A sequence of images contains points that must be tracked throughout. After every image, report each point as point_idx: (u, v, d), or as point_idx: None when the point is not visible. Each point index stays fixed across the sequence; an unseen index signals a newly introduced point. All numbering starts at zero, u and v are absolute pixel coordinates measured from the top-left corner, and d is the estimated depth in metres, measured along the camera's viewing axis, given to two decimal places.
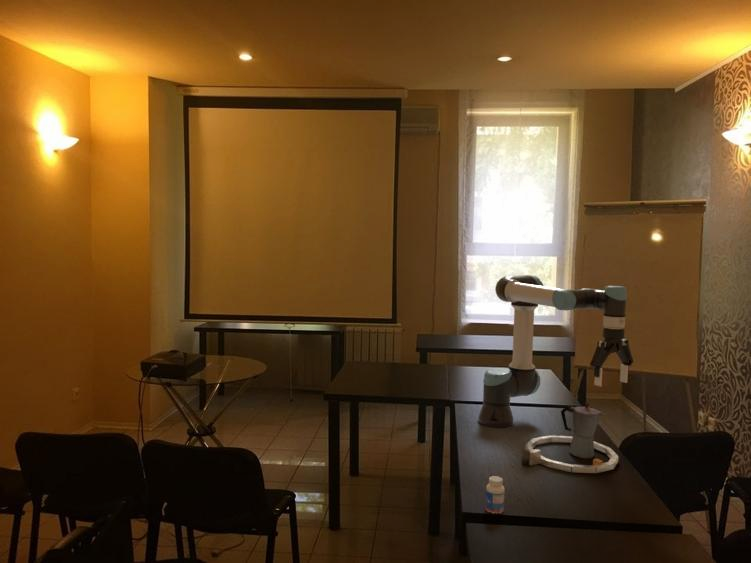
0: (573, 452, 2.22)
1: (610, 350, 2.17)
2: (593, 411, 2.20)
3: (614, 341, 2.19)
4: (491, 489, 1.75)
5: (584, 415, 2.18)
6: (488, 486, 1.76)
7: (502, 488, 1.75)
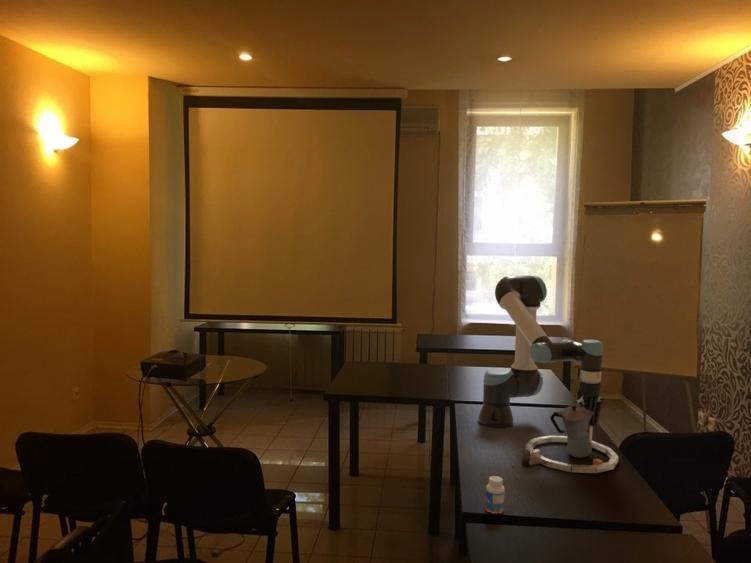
0: (570, 452, 2.21)
1: (590, 405, 2.22)
2: (581, 414, 2.15)
3: (591, 394, 2.22)
4: (491, 489, 1.75)
5: (572, 421, 2.14)
6: (488, 486, 1.76)
7: (502, 488, 1.75)
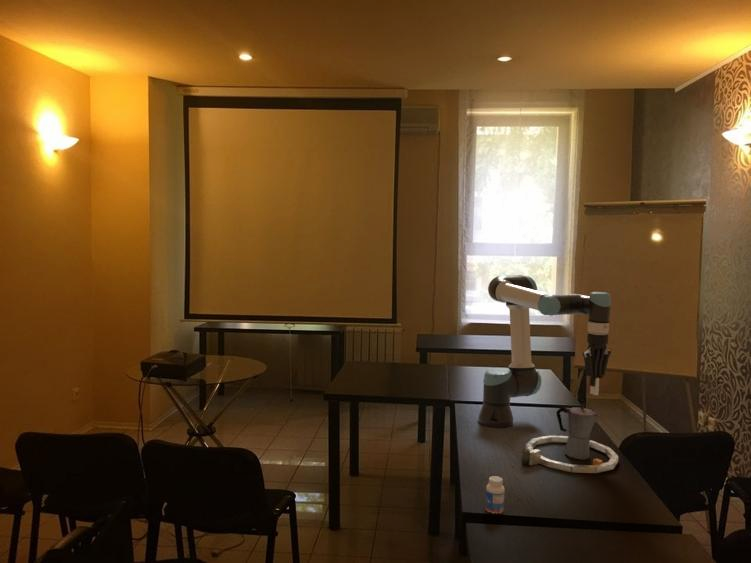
0: (568, 453, 2.21)
1: (597, 357, 2.21)
2: (588, 412, 2.19)
3: (598, 346, 2.22)
4: (491, 489, 1.75)
5: (579, 415, 2.17)
6: (488, 486, 1.76)
7: (502, 488, 1.75)
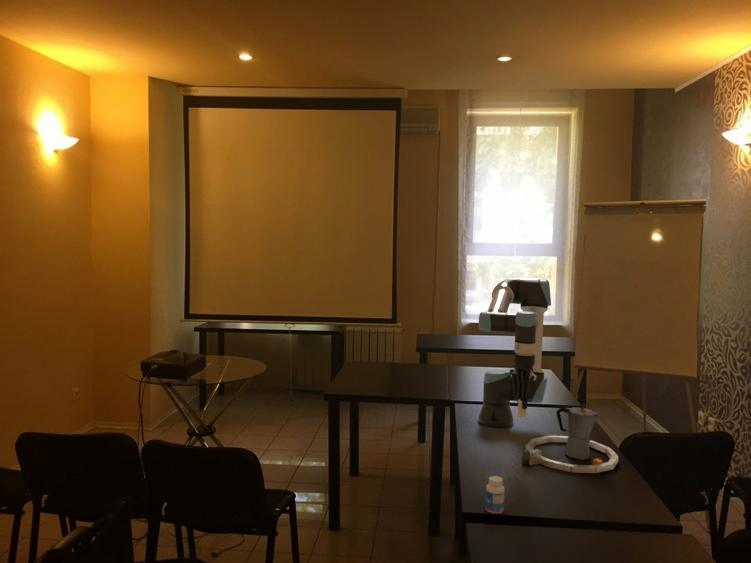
0: (568, 453, 2.21)
1: (516, 377, 2.19)
2: (588, 412, 2.19)
3: (520, 367, 2.18)
4: (491, 489, 1.75)
5: (579, 415, 2.17)
6: (488, 486, 1.76)
7: (502, 488, 1.75)
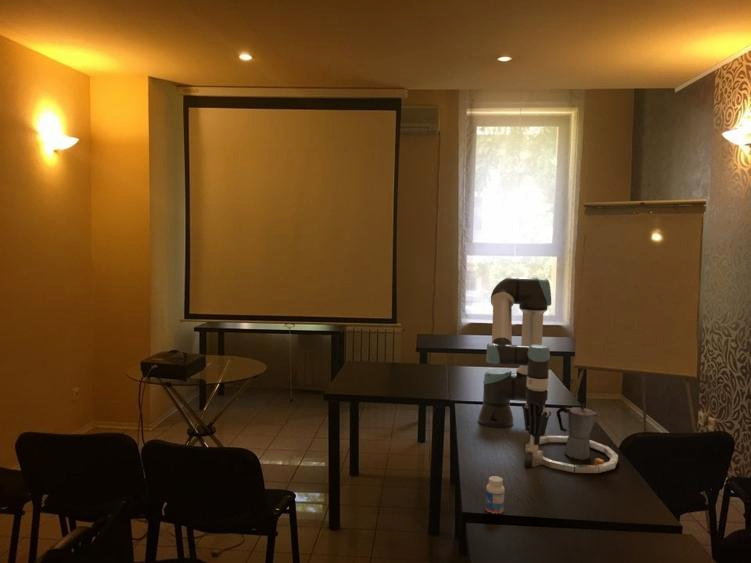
0: (568, 453, 2.21)
1: (528, 412, 2.13)
2: (588, 412, 2.19)
3: (532, 402, 2.12)
4: (491, 489, 1.75)
5: (579, 415, 2.17)
6: (488, 486, 1.76)
7: (502, 488, 1.75)
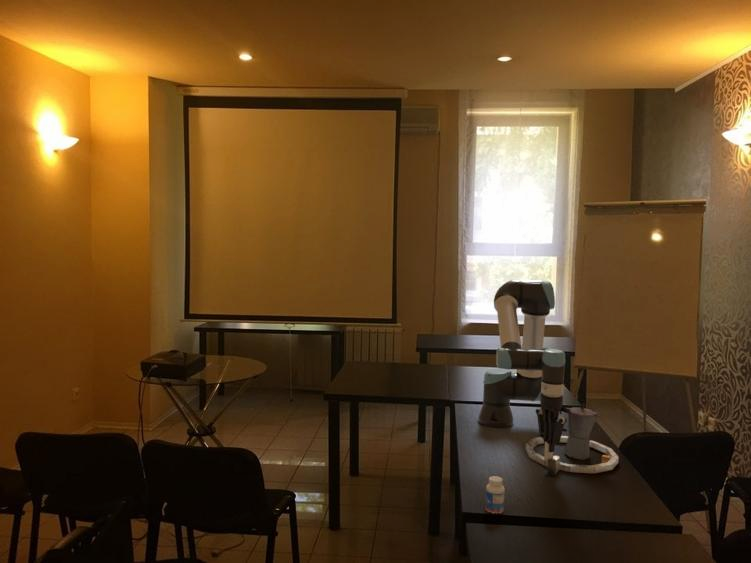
0: (568, 453, 2.21)
1: (543, 418, 2.07)
2: (588, 412, 2.19)
3: (547, 408, 2.06)
4: (491, 489, 1.75)
5: (579, 415, 2.17)
6: (488, 486, 1.76)
7: (502, 488, 1.75)
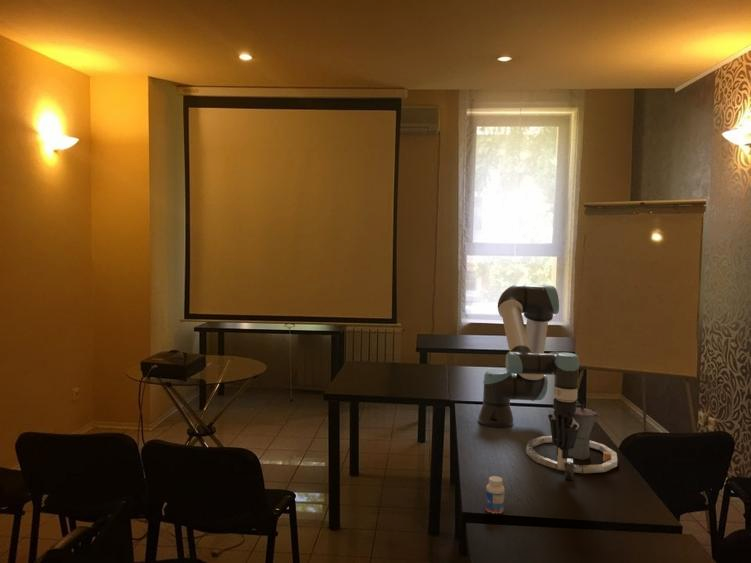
0: (568, 453, 2.21)
1: (556, 423, 2.01)
2: (588, 412, 2.19)
3: (560, 413, 2.00)
4: (491, 489, 1.75)
5: (579, 415, 2.17)
6: (488, 486, 1.76)
7: (502, 488, 1.75)
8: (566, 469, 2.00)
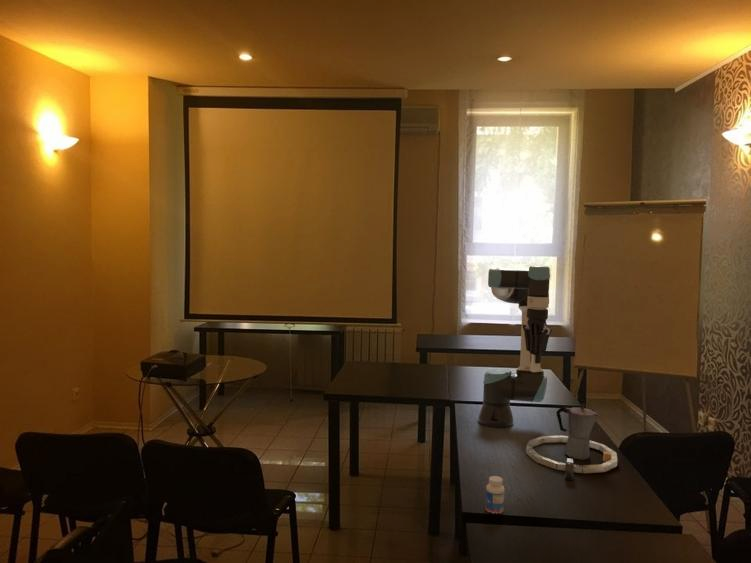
0: (568, 453, 2.21)
1: (529, 331, 2.17)
2: (588, 412, 2.19)
3: (533, 321, 2.16)
4: (491, 489, 1.75)
5: (579, 415, 2.17)
6: (488, 486, 1.76)
7: (502, 488, 1.75)
8: (566, 469, 2.00)
